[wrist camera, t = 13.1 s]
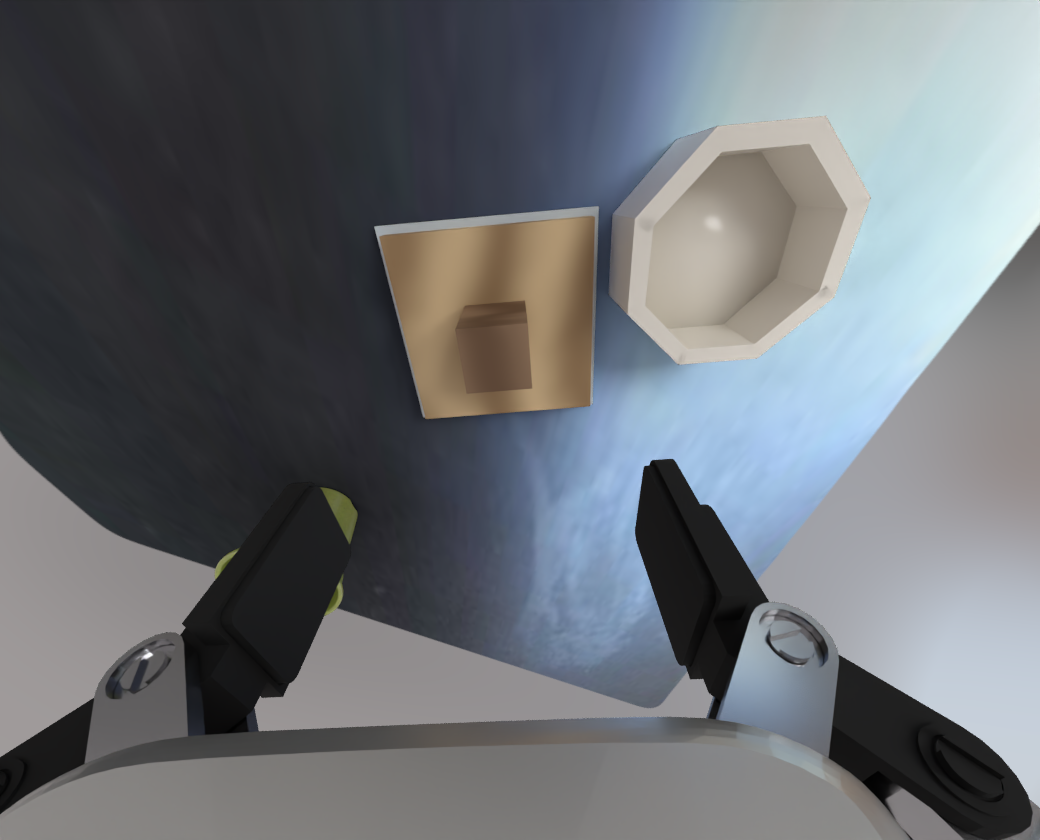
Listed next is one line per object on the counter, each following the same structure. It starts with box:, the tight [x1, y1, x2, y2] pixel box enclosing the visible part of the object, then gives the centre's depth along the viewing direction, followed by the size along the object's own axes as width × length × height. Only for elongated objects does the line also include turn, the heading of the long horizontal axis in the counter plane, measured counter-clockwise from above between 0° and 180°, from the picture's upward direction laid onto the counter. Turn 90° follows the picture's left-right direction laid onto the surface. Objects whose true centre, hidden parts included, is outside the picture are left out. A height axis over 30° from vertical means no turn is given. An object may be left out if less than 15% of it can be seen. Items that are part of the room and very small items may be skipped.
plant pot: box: [215, 487, 358, 616], centre depth 33 cm, size 9×9×9 cm
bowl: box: [608, 116, 871, 365], centre depth 22 cm, size 12×12×5 cm
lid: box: [379, 216, 595, 419], centre depth 24 cm, size 13×13×6 cm
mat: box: [374, 206, 599, 417], centre depth 27 cm, size 14×14×1 cm
